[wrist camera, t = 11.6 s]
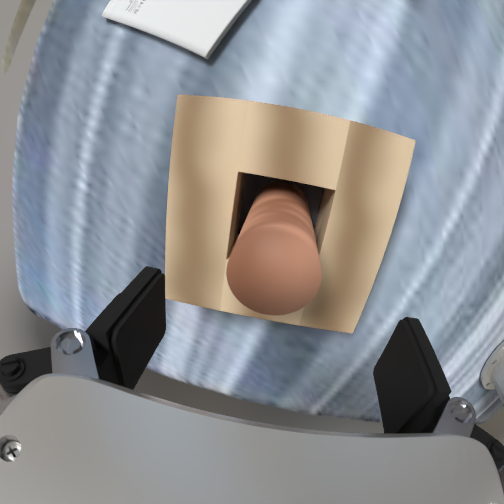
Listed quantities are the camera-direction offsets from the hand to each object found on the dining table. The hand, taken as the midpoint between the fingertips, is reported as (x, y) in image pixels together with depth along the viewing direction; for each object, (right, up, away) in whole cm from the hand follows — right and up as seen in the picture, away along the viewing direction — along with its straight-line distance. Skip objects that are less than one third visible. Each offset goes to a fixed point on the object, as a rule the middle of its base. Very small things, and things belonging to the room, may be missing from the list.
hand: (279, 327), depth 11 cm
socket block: (+1, +7, +14) cm, 15 cm away
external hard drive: (-7, +25, +7) cm, 27 cm away
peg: (+1, +7, +14) cm, 15 cm away
